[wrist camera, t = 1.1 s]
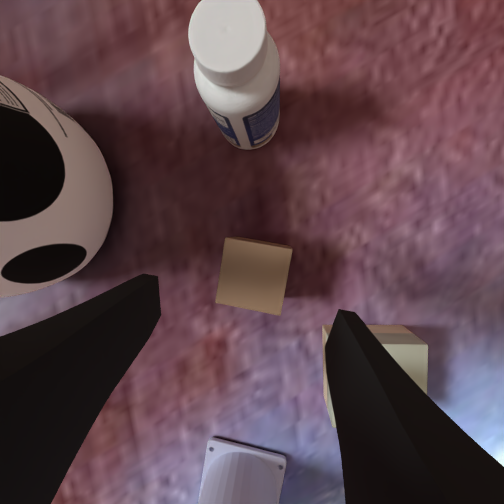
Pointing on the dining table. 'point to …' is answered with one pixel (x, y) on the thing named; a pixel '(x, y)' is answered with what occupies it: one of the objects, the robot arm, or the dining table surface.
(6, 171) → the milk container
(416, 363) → the cream slab
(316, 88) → the dining table surface
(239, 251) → the walnut cube
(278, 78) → the pill bottle
